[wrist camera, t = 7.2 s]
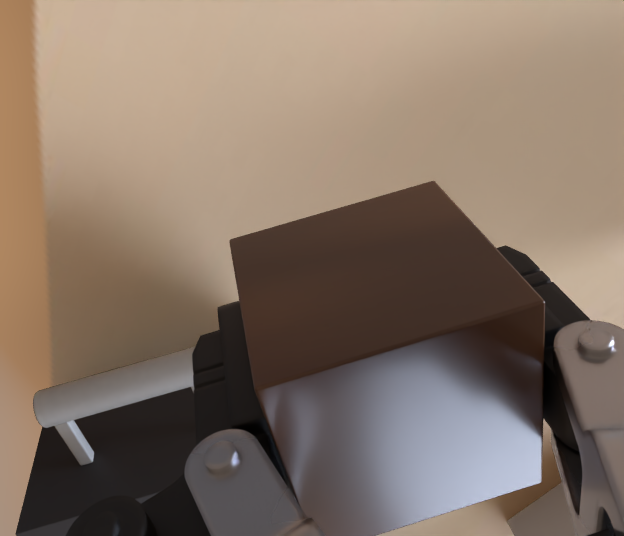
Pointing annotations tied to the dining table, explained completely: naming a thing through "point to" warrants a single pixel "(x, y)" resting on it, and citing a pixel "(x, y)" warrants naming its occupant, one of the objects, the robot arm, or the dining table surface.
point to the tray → (544, 516)
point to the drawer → (109, 440)
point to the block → (393, 360)
